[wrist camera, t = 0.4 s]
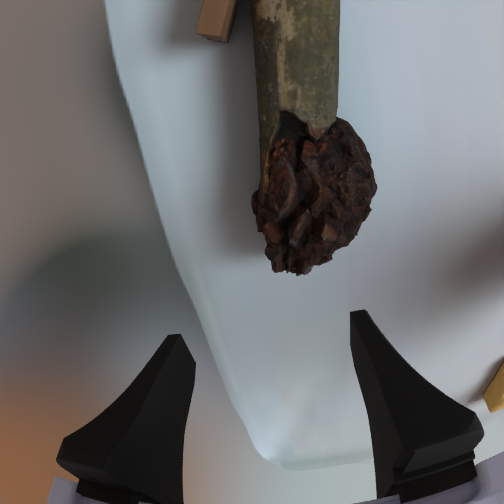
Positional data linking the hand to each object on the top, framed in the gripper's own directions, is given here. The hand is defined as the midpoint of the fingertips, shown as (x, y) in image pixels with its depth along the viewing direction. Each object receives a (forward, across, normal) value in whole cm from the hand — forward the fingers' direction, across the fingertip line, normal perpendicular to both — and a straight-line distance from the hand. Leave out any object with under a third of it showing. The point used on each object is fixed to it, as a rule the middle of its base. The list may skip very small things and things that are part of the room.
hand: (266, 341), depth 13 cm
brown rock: (+11, -4, -7) cm, 13 cm away
